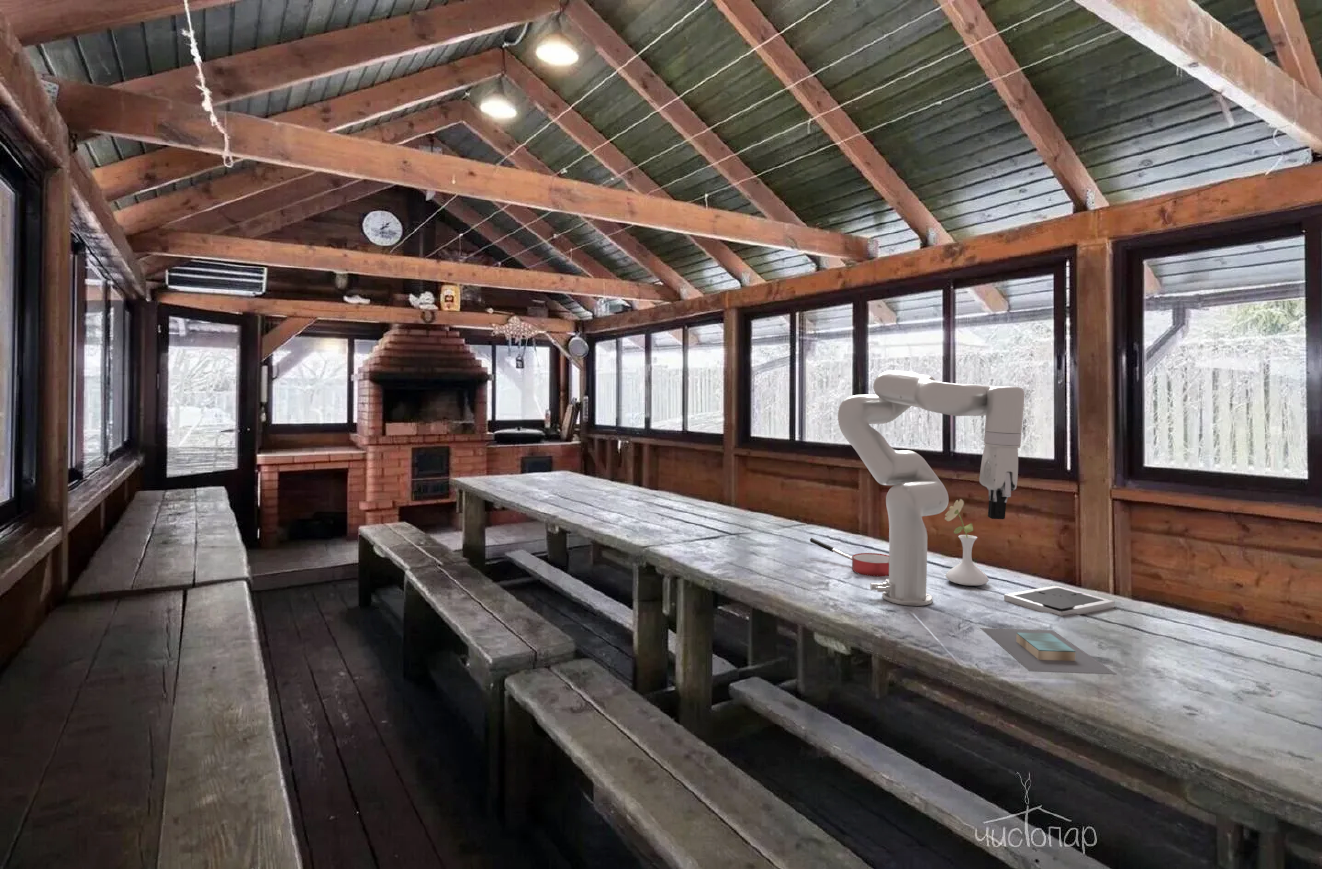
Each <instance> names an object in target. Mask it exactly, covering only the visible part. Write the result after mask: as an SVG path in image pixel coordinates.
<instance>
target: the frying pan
mask: <svg viewBox="0 0 1322 869" xmlns="http://www.w3.org/2000/svg"><path fill="white" fill-rule="evenodd" d="M809 541H810V543H812V544H814V545H816V546H818V547H820V548H823V549H825V550H827V551H829V552H832V553H833V552H834V553H835V554H838V555H840V556H842V557H845V558H846V559H849V560H850V561H851V564H852V565H851V570H852V571H853V572H854V573H856V574H858V573H859V574H858V575H863V576H867V577H874V578H875V577H876V578H877V577H878V578H879V577H880V578H881V577H889V554H883V553H875V552H861V553H855V554H853V555H852V556H851V555H849V554H848V553H845V552H842V551H841V550H838V549H835V547H833V546H831V545H829V544H826V543H824V542H823V541H820V540H817V539H816V538H813V537H811V538H810V539H809Z"/></svg>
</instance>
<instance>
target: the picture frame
mask: <svg viewBox="0 0 1322 869" xmlns="http://www.w3.org/2000/svg"><path fill="white" fill-rule="evenodd" d="M1003 601H1005V602H1008V603H1011V604H1014V605H1018V606H1021V607H1024V608H1028V609H1031V610H1034V611H1037V612H1039V613H1042V614H1043V613H1044V614H1048V613H1049V614H1053V615H1054V614H1055V615H1056V616H1061V617H1062V616H1063V617H1064V616H1067V615H1072V614H1077V615H1083V614H1088V613H1089V614H1090V613H1094V612H1098V611H1104V610H1108V609H1114V608H1115V600H1111V599H1107V598H1105V597H1100V596H1097V595H1093V594H1089V593H1085V592H1081V591H1078V590H1074V589H1071V588H1067V587H1064V586H1061V585H1060V586H1059V585H1051V586H1045V587H1040V588H1032V589H1028V590H1022V591H1016V592H1010V593H1006V594H1005V593H1004V595H1003Z"/></svg>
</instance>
